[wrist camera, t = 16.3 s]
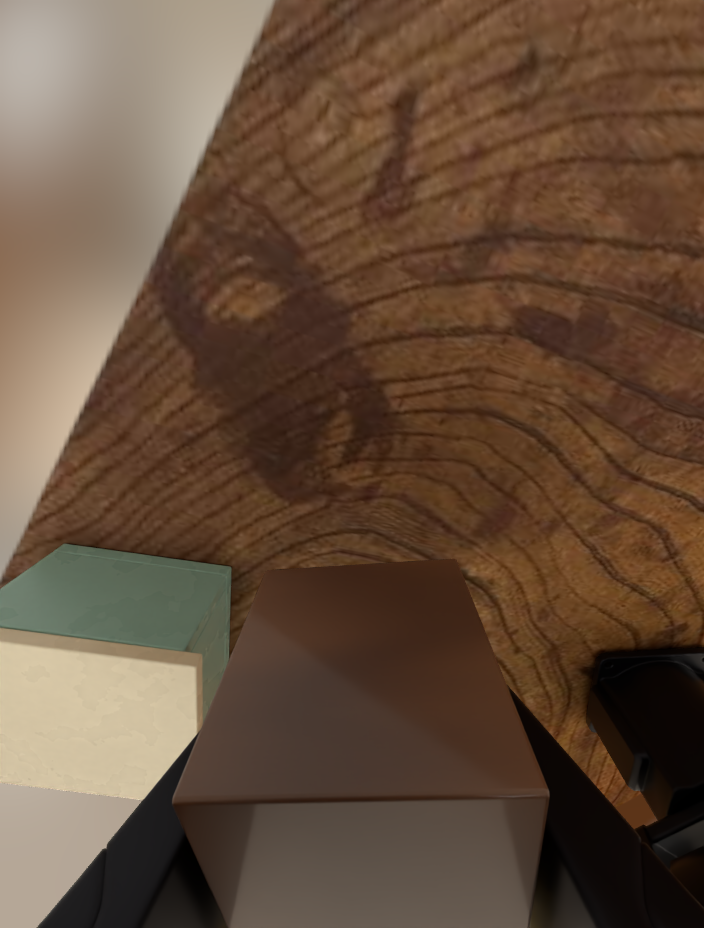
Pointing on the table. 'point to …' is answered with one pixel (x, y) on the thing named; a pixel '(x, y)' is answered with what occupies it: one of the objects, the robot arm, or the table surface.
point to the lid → (94, 712)
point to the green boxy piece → (127, 603)
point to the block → (365, 760)
